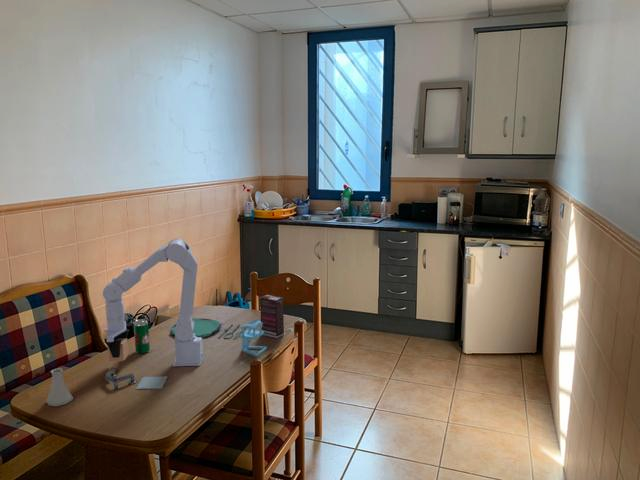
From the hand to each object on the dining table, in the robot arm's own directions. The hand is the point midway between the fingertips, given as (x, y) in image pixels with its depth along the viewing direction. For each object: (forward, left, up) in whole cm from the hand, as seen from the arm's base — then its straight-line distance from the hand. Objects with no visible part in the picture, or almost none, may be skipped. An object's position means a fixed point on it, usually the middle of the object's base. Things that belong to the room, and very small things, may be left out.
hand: (118, 353), depth 178 cm
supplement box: (-52, -27, -5) cm, 59 cm away
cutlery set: (-26, -32, -6) cm, 42 cm away
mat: (-14, +13, -5) cm, 20 cm away
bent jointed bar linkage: (-4, +12, -5) cm, 14 cm away
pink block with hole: (0, 0, -1) cm, 1 cm away
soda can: (-4, -13, -5) cm, 15 cm away
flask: (+11, +23, -5) cm, 26 cm away
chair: (-45, -11, -5) cm, 47 cm away
